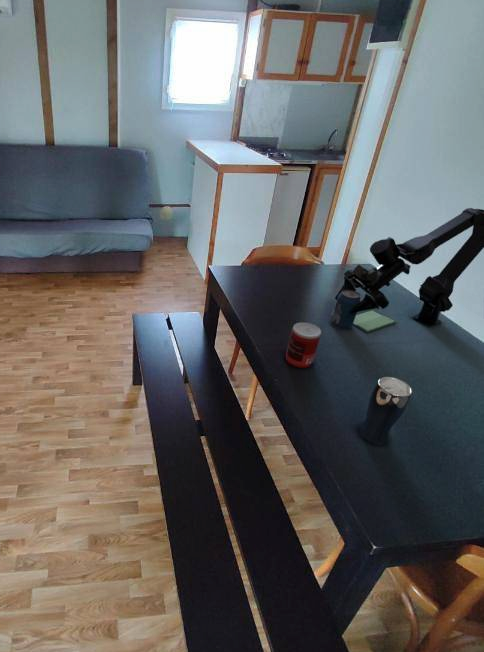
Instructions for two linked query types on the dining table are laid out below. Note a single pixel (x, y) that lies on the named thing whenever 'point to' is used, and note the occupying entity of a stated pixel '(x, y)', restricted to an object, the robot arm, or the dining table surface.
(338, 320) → the soda can
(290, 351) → the canned food
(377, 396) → the beer glass
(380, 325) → the cloth
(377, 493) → the dining table surface
